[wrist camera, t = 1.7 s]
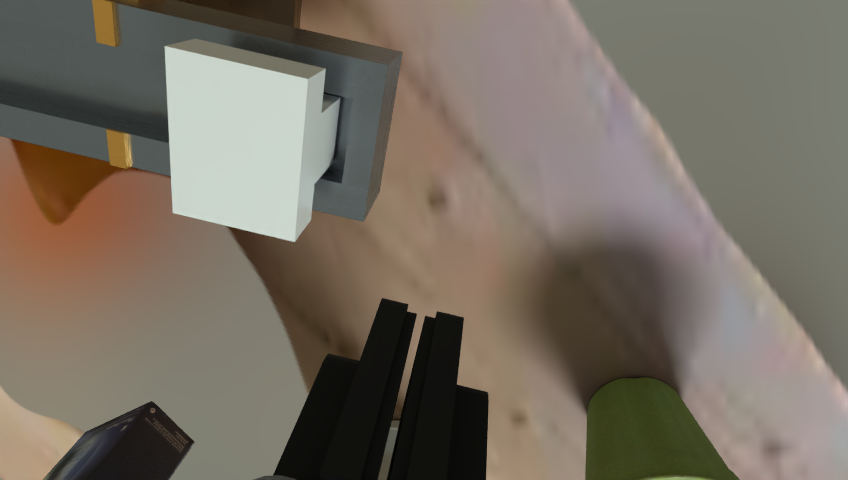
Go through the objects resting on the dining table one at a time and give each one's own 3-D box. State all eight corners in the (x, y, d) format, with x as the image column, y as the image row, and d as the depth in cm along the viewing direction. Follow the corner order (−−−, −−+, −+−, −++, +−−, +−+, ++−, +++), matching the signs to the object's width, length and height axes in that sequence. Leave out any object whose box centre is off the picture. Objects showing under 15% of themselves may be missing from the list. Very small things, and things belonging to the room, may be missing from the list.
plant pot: (741, 369, 38) (824, 509, 29) (675, 472, 44) (725, 618, 34) (584, 333, 39) (613, 459, 29) (538, 440, 44) (549, 575, 35)
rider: (345, 57, 22) (308, 78, 17) (329, 195, 25) (294, 242, 20) (228, 30, 22) (164, 45, 18) (227, 171, 25) (172, 213, 21)
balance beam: (433, -15, 29) (397, -4, 19) (398, 180, 35) (355, 269, 25) (41, -103, 30) (-201, -139, 19) (70, 103, 35) (-105, 159, 25)
